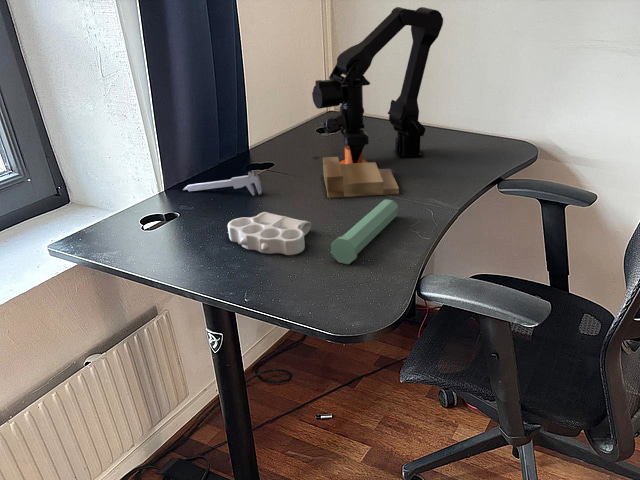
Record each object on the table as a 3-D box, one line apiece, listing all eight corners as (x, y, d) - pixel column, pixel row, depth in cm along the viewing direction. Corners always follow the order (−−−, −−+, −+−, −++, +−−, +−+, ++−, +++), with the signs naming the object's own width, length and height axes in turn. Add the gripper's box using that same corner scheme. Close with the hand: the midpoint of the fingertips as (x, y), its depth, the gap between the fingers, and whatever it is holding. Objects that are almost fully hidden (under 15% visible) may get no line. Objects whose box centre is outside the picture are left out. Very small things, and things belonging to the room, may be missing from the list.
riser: (390, 173, 167) (390, 154, 164) (399, 193, 155) (399, 173, 152) (323, 177, 164) (322, 157, 161) (327, 197, 152) (326, 176, 149)
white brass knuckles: (324, 234, 135) (287, 263, 124) (256, 218, 142) (215, 245, 130) (323, 220, 134) (286, 248, 122) (254, 205, 140) (213, 231, 128)
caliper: (262, 194, 154) (259, 170, 150) (261, 196, 153) (258, 172, 149) (184, 189, 156) (180, 165, 152) (182, 191, 155) (178, 167, 151)
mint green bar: (385, 190, 141) (335, 232, 122) (406, 203, 141) (360, 247, 121) (376, 210, 145) (326, 254, 125) (397, 223, 144) (350, 269, 125)
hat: (366, 159, 176) (365, 142, 173) (369, 169, 169) (369, 151, 167) (338, 160, 175) (337, 143, 172) (340, 170, 168) (340, 152, 165)
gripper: (319, 95, 169) (322, 150, 178) (324, 114, 154) (327, 173, 162) (359, 94, 171) (360, 148, 179) (368, 112, 156) (369, 171, 164)
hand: (353, 159), depth 171 cm, fingers open, 5 cm apart
